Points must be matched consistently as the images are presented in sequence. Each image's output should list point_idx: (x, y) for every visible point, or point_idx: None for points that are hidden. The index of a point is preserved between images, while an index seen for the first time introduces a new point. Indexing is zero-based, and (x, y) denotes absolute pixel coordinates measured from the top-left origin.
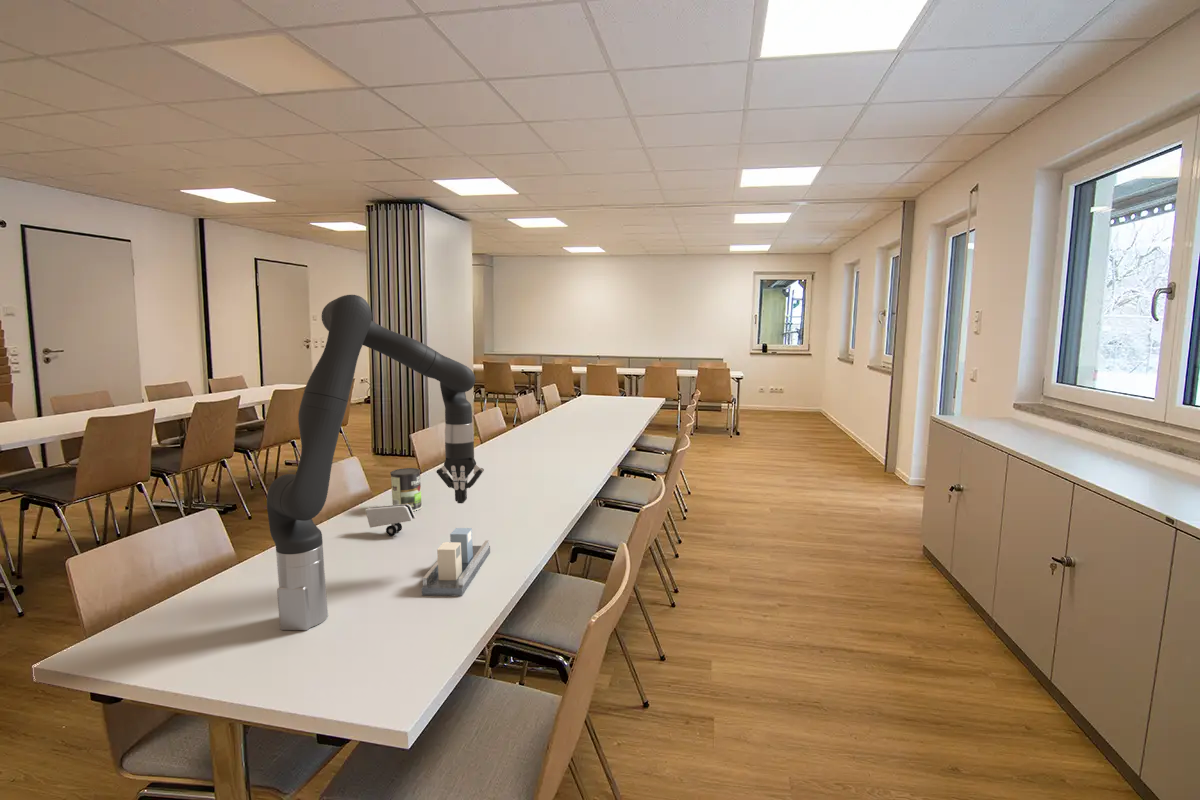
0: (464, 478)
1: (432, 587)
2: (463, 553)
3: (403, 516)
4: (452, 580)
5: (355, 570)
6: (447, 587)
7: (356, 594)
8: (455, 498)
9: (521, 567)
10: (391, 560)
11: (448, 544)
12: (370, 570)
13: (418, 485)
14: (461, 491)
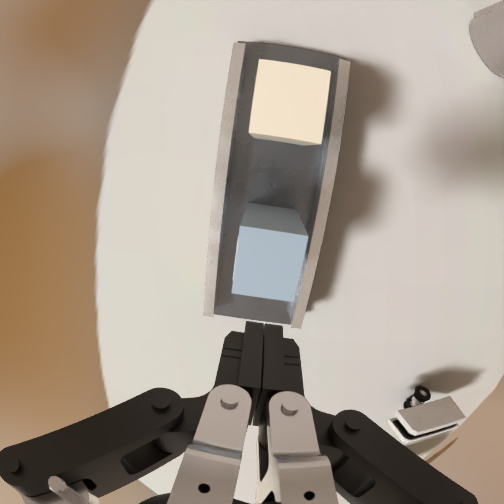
0: (180, 473)
1: (317, 53)
2: (258, 210)
3: (412, 416)
4: None
5: (483, 236)
6: (277, 47)
7: (466, 114)
8: (296, 352)
9: (119, 204)
10: (431, 280)
11: (296, 115)
12: (463, 231)
13: None
14: (244, 378)
